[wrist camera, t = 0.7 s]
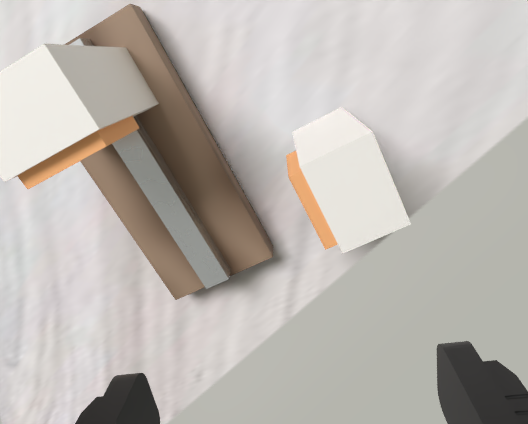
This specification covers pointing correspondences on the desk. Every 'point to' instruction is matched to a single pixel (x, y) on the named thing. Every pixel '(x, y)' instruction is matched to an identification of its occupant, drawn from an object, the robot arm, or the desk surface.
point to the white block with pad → (344, 182)
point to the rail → (182, 161)
